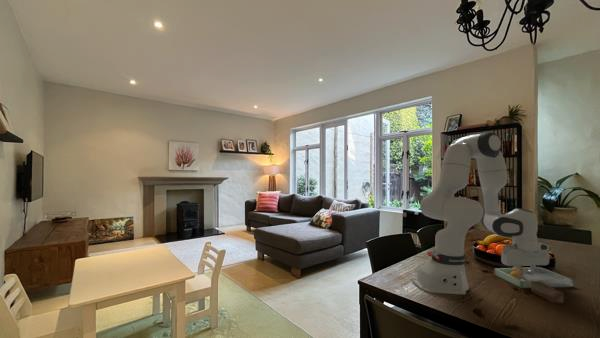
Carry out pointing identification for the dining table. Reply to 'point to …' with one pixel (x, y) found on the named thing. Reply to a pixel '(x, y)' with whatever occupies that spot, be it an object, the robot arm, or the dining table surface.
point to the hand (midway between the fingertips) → (524, 274)
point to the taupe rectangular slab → (547, 292)
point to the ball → (516, 275)
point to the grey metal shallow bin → (547, 277)
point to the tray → (512, 278)
